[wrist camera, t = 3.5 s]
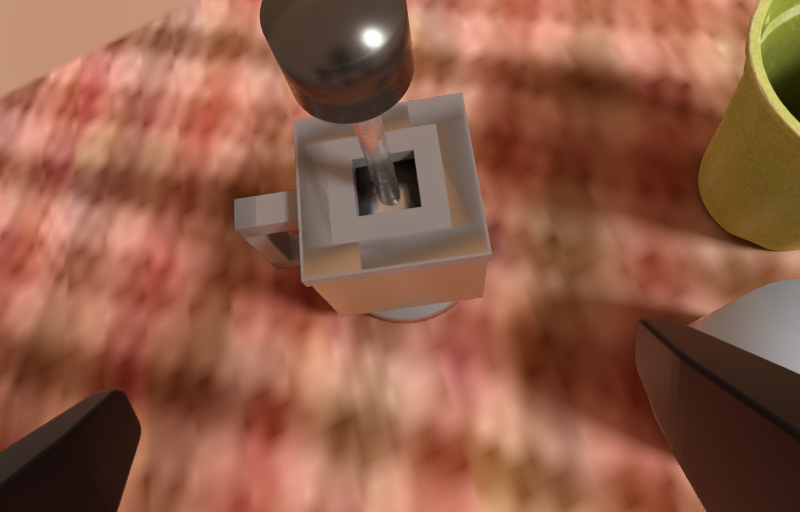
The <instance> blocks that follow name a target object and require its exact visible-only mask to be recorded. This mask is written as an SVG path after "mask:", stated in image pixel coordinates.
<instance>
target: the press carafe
mask: <svg viewBox="0 0 800 512" xmlns="http://www.w3.org/2000/svg"><path fill="white" fill-rule="evenodd" d="M381 119H382V123H383V127H384V131H385V135H386V139H387V143H388V147H389V151H390V154H391V158H392V162H396V161H402V160H408V159H415V163H416V170H417V177H418V185H419V192H420V199H421V206H422V207H417V208H410V209H404V210H397V211H390V212H384V213H377V214H371V215H364V216H359V208H358V197H357V187H356V176H355V170H356V169H357V168H358V167H364V166H367V163H366V161H365V158H364V155H363V152H362V149H361V146H360V144H359V141H358V138H357V135H356V132H355V129H354V126H353V124H336V123H330V122H326V121H323V120H320V119H318V118H316V117H312V118H306V119H300V120H294V121H293V124H294V144H295V164H296V184H297V190H291V191H284V192H278V193H271V194H265V195H259V196H252V197H246V198H240V199H234V230H235V231H236V232H238V233H239V234H240V235H241V236H242V237H243V238H244V239H245V240H246V241H247V242H248V243H249V244H250V245H252V246H253V247H254V248H255V249H256V250H257V251H258V252H259V253H260V254H261V255H262V256H263V257H264V258H266V259H267V260H268V261H269V262H270V263H271V264H272V265H273V266H274V267H275V268H276V269H284V268H291V267H298V266H301V282H302V283H303V284H304V285H305V286H306V287H308V286H312V287H313V288H314V289H315V290H316V291H317V292H318V293H319V294H320V295H321V296H322V297H323V298H324V299H325V300H326V301H327V302H328V303H329V304H330V305H331V306H332V307H333V308H334V309H335V310H336V311H337V312H338V314H339V315H340V316H341V317H344V316H351V315H359V314H366V313H368V314H370V315H372V316H374V317H376V318H379V319H382V320H385V321H389V322H394V323H415V322H420V321H425V320H428V319H431V318H434V317H436V316H438V315H440V314H442V313H444V312H446V311H447V310H449V309H450V308H452V307H453V306H454V305H455V304H456V303H458V302H459V301H460V300H467V299H474V298H481V297H483V291H484V283H485V275H486V267H487V261H489V260H491V258H492V251H491V246H490V240H489V235H488V229H487V224H486V218H485V213H484V208H483V202H482V197H481V191H480V186H479V181H478V175H477V170H476V164H475V159H474V154H473V148H472V143H471V137H470V132H469V126H468V121H467V116H466V110H465V105H464V99H463V94H462V93H456V94H450V95H444V96H438V97H432V98H426V99H420V100H414V101H408V102H402V103H396V104H395V105H394V106H393V107H392V108H391V109H389V110H388V111H386V112H385V113H383V114H381ZM298 229H299V233H297V234H291V235H288V234H287V233H286V231H291V230H298Z"/></svg>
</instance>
